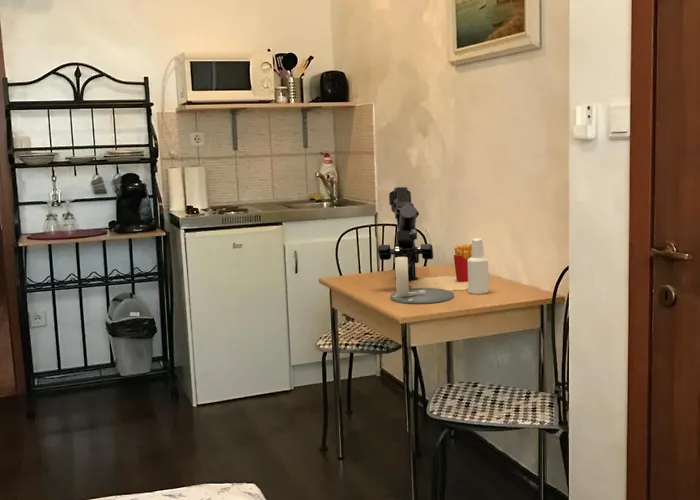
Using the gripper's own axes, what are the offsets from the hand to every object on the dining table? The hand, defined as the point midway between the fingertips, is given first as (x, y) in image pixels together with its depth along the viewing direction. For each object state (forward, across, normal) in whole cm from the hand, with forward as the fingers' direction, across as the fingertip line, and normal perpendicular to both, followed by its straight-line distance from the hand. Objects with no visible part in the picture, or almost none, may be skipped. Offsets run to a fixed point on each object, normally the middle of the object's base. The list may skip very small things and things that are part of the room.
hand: (404, 272), depth 265 cm
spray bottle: (+5, +25, +5) cm, 26 cm away
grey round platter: (+10, +6, 0) cm, 12 cm away
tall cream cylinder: (+11, +2, -3) cm, 12 cm away
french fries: (-10, +20, +20) cm, 30 cm away
